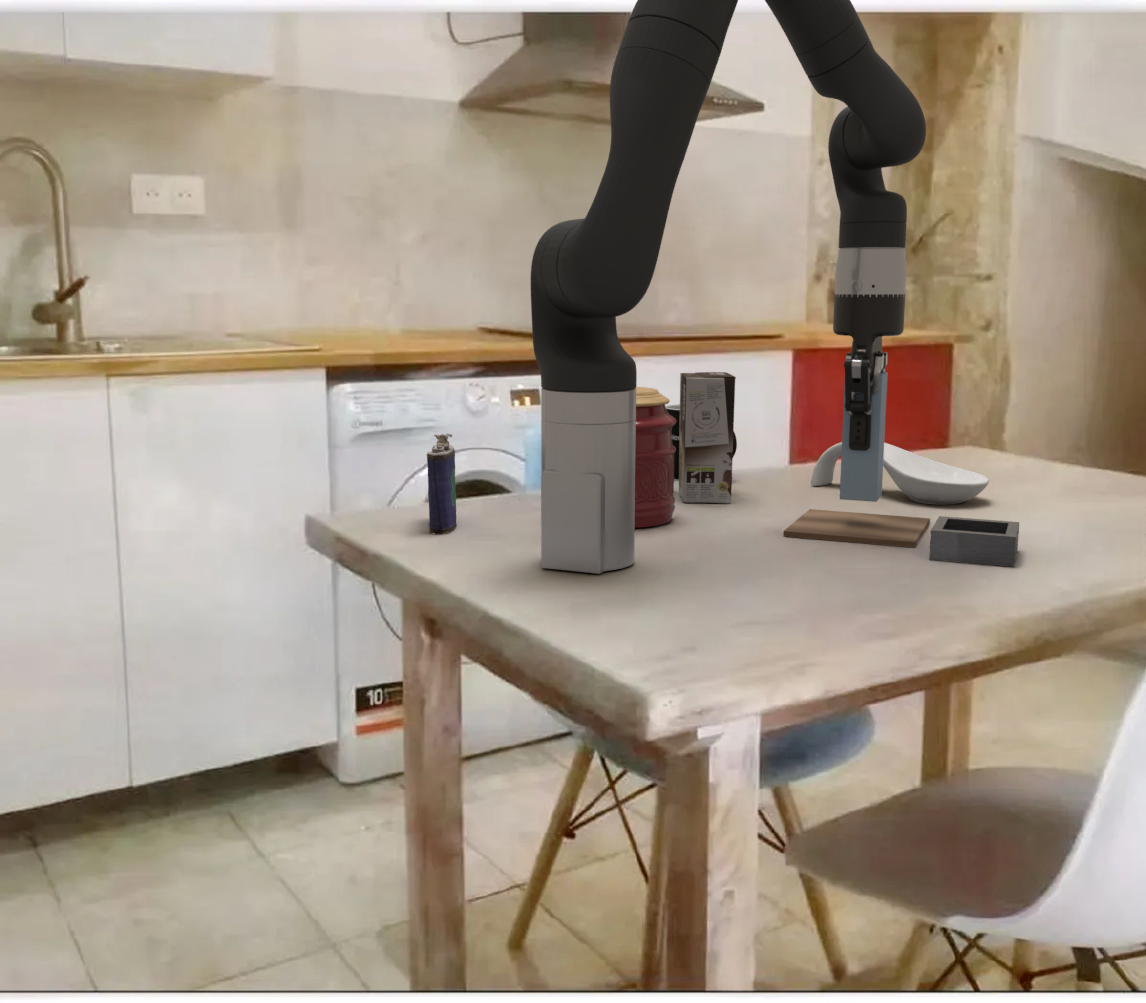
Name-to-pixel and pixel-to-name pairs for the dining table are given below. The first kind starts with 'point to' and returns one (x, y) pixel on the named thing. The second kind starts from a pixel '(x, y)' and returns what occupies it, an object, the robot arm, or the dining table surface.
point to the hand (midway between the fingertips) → (862, 446)
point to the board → (859, 528)
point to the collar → (974, 541)
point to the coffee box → (706, 436)
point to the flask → (442, 486)
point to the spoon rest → (913, 476)
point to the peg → (865, 452)
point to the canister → (653, 459)
